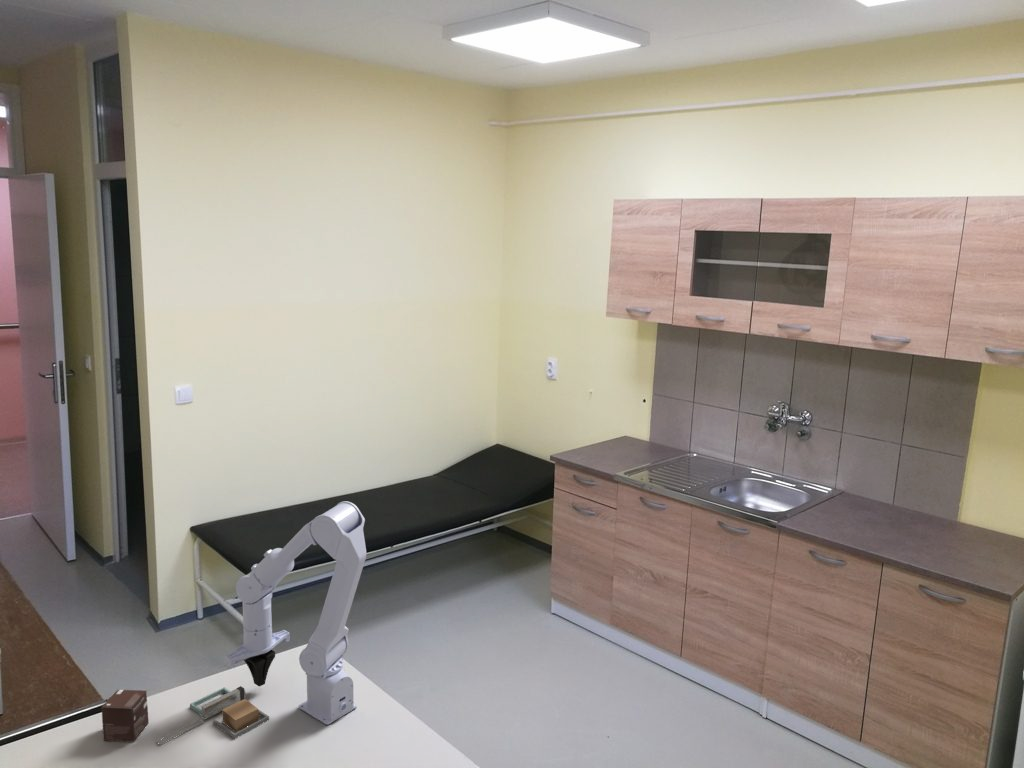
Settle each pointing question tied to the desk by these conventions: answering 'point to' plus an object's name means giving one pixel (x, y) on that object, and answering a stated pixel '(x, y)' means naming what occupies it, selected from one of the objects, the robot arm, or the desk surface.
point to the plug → (240, 715)
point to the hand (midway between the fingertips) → (259, 683)
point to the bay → (194, 704)
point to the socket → (228, 731)
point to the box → (125, 715)
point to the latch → (222, 702)
